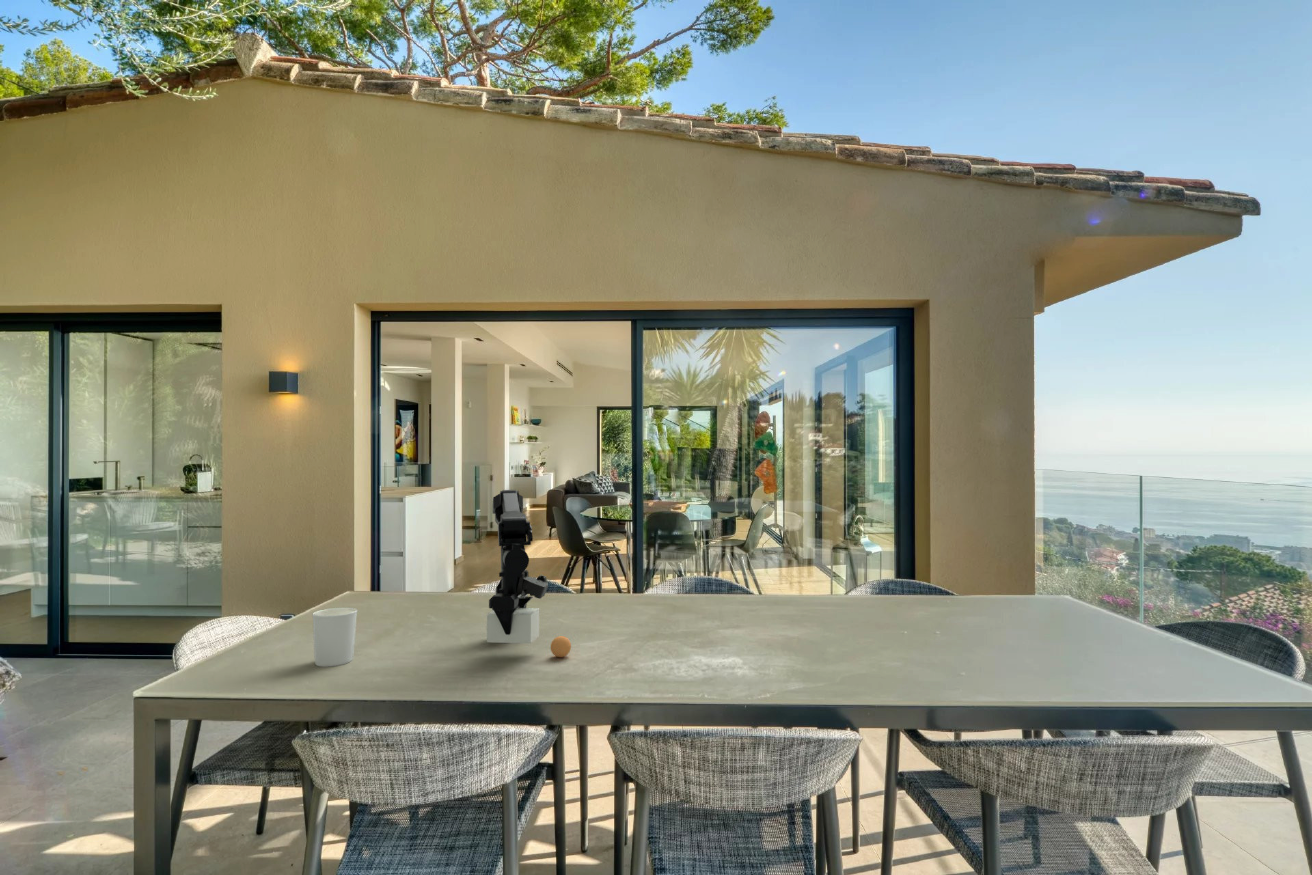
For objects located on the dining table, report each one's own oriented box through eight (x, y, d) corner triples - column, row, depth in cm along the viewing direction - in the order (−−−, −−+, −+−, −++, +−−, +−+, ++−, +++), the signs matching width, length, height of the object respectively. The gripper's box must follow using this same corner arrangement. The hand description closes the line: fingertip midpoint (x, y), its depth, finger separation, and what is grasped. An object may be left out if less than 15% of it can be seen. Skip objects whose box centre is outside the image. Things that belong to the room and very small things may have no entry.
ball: (548, 659, 157) (548, 638, 157) (553, 653, 162) (553, 633, 162) (568, 659, 157) (568, 639, 157) (573, 654, 162) (573, 633, 162)
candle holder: (301, 665, 153) (302, 614, 154) (333, 654, 163) (334, 606, 163) (335, 669, 151) (336, 617, 151) (365, 657, 160) (366, 608, 161)
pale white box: (486, 642, 158) (486, 613, 158) (497, 634, 165) (497, 607, 165) (530, 643, 157) (530, 614, 157) (539, 635, 164) (539, 608, 164)
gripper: (534, 573, 152) (534, 640, 151) (554, 562, 170) (554, 622, 170) (488, 573, 153) (487, 639, 152) (513, 561, 171) (513, 621, 171)
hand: (513, 630), depth 161 cm, fingers closed on pale white box, 7 cm apart
